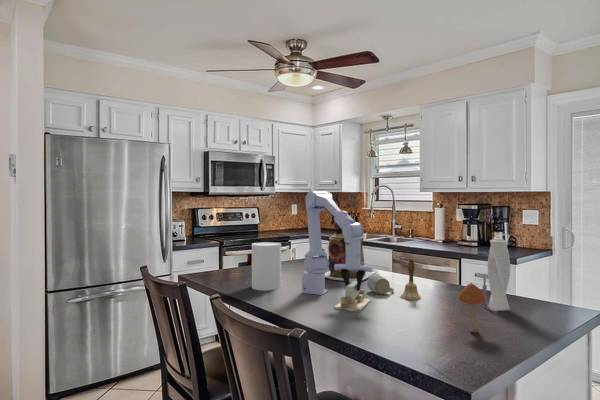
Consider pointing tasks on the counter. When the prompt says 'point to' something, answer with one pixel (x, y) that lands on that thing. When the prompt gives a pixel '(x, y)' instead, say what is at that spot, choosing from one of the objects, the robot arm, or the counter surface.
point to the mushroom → (472, 303)
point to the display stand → (353, 303)
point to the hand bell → (411, 285)
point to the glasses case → (352, 290)
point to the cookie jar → (341, 257)
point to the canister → (266, 266)
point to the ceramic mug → (378, 284)
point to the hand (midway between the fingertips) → (353, 289)
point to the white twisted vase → (497, 275)
